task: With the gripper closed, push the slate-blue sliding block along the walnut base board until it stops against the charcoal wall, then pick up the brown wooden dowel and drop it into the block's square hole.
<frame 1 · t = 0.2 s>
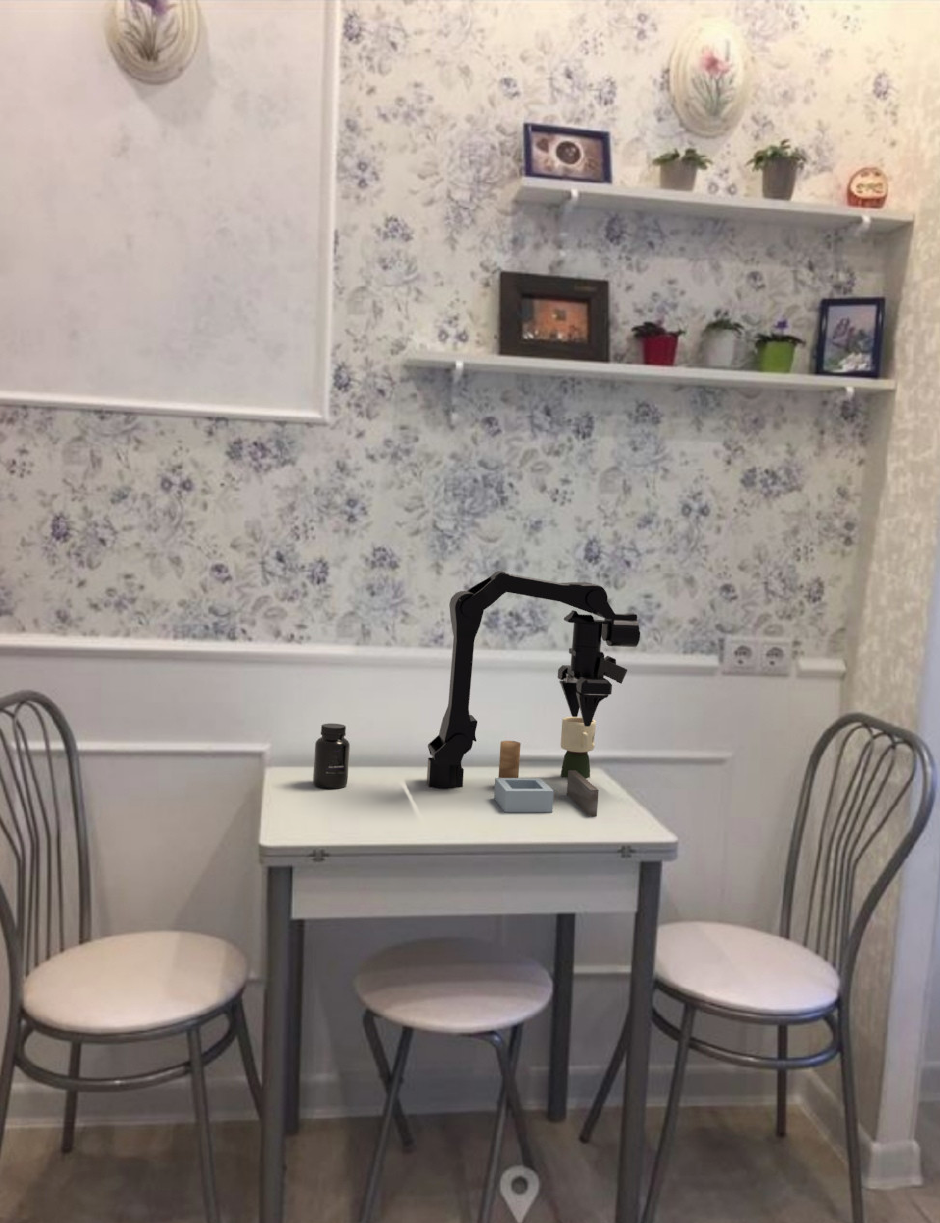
hand: (580, 721, 209), 14 cm above the table, tool pointing down, fingers open, 9 cm apart
supplement bottle: (330, 785, 204), on the table
character mug: (575, 780, 219), on the table
base board: (539, 810, 194), on the table
sliding block: (523, 794, 193), point 3 cm above the table, slide at 6.0 cm
dowel: (507, 791, 206), on the table
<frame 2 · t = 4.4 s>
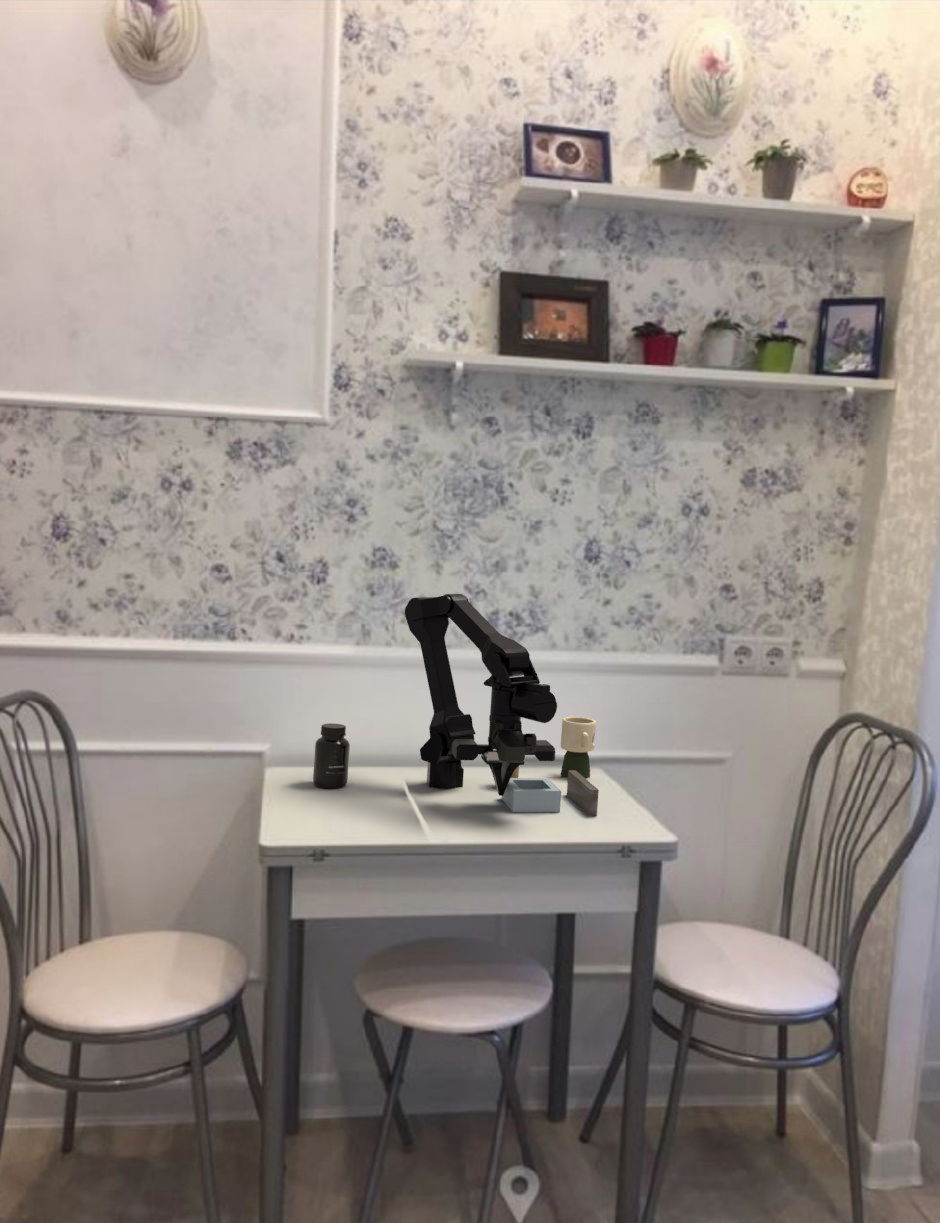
hand: (500, 795, 192), 3 cm above the table, tool pointing down, fingers closed
sliding block: (530, 794, 194), point 3 cm above the table, slide at 4.5 cm, touching gripper
everything else where it was.
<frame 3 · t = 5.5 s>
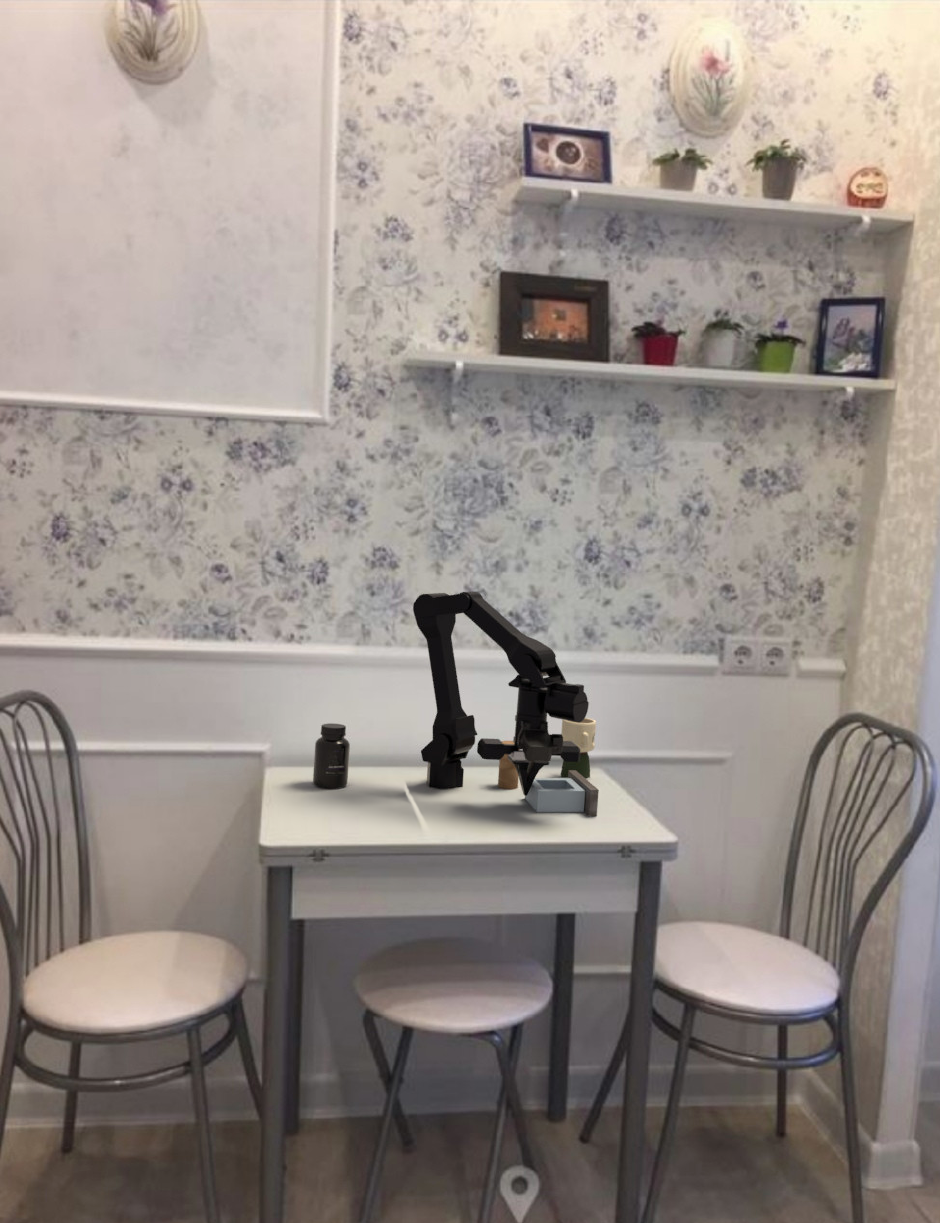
hand: (525, 795, 193), 3 cm above the table, tool pointing down, fingers closed
sliding block: (554, 794, 195), point 3 cm above the table, slide at -0.1 cm, touching gripper
everything else where it was.
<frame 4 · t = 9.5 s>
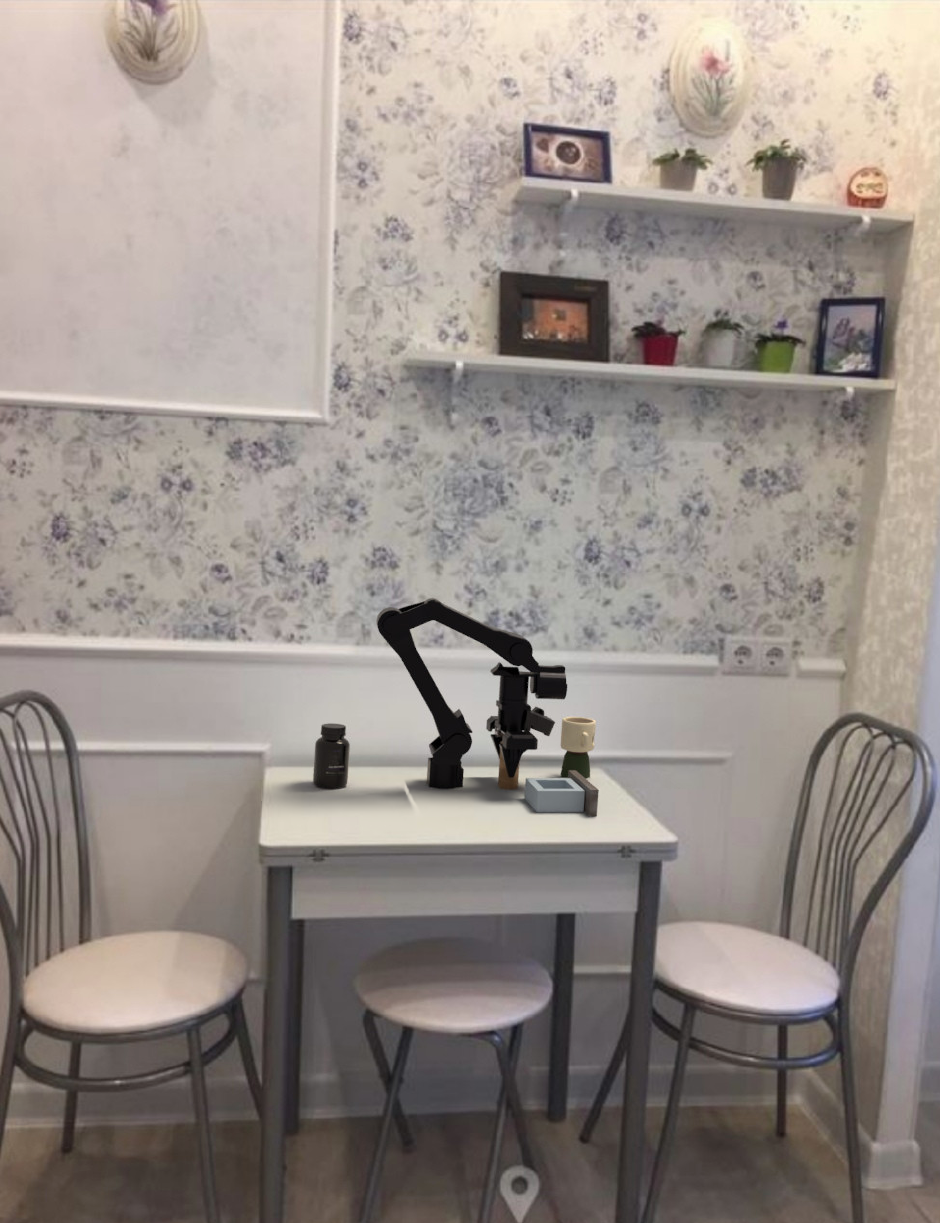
hand: (508, 774, 206), 4 cm above the table, tool pointing down, fingers closed on dowel, 4 cm apart
sliding block: (554, 794, 195), point 3 cm above the table, slide at 0.0 cm
dowel: (507, 791, 206), on the table, touching gripper
everything else where it was.
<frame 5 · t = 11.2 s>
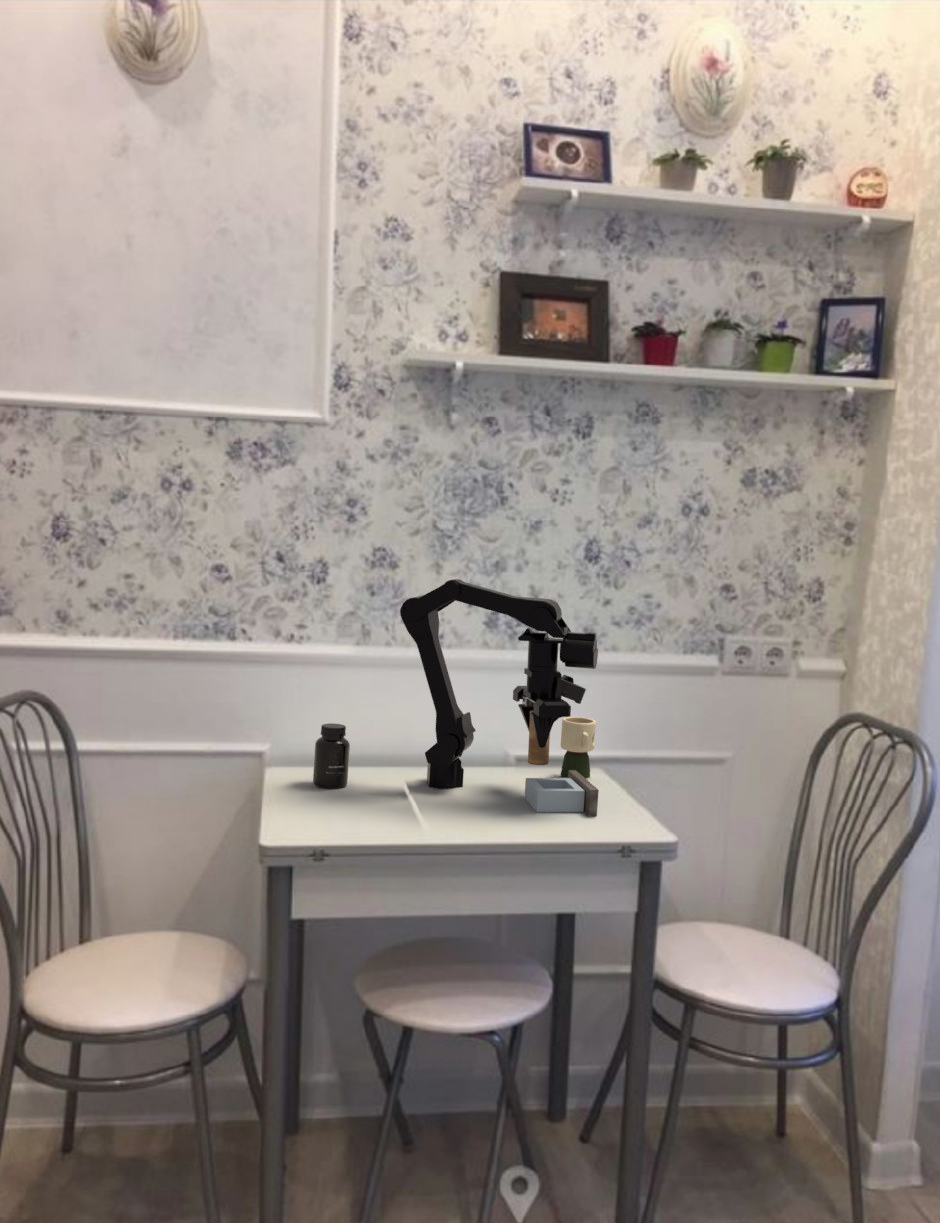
hand: (538, 744, 199), 11 cm above the table, tool pointing down, fingers closed on dowel, 4 cm apart
dowel: (538, 762, 199), point 8 cm above the table, touching gripper
everything else where it was.
when the fingers open (6 cm above the table, at t = 13.0 s): dowel drops 1 cm, resting on base board.
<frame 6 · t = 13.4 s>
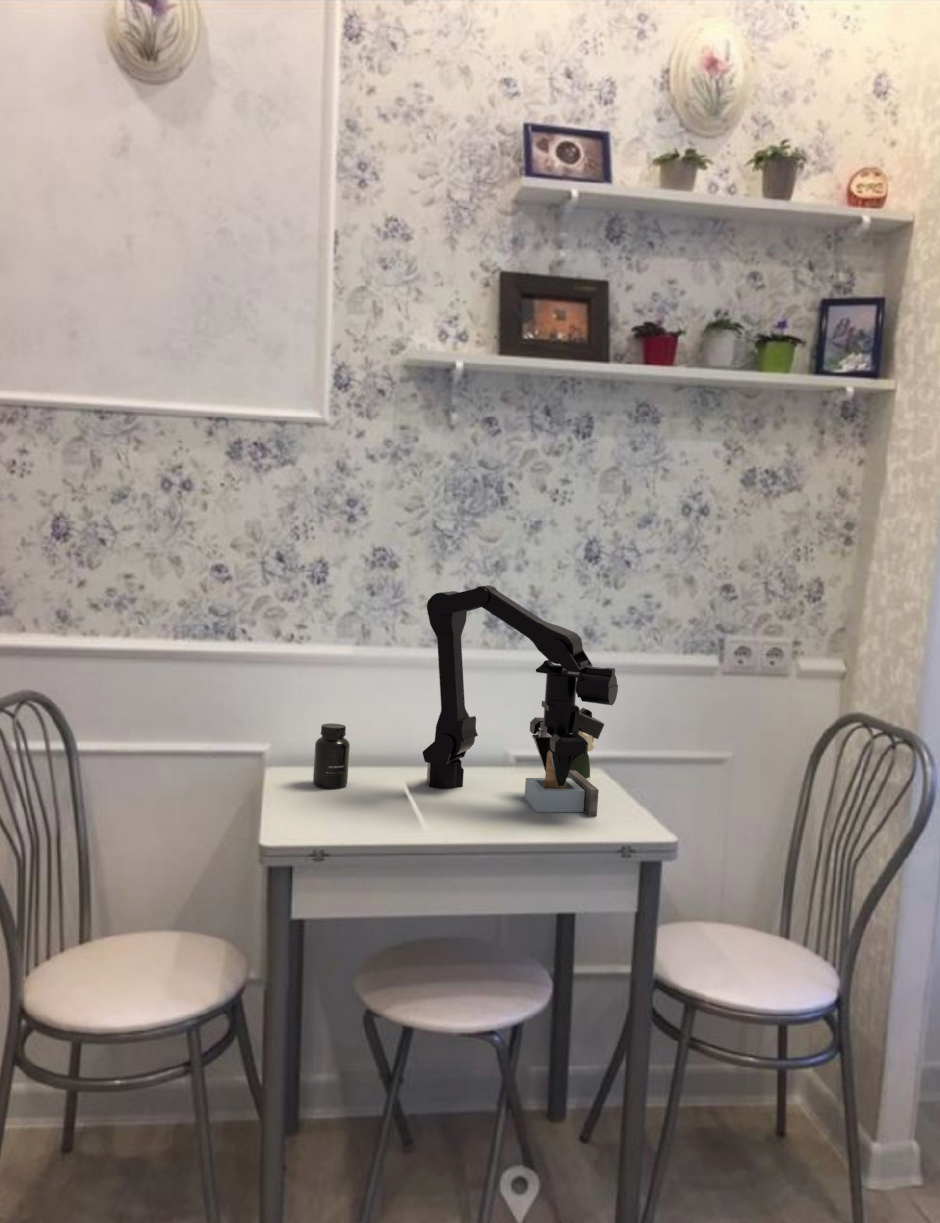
hand: (554, 779, 194), 6 cm above the table, tool pointing down, fingers open, 8 cm apart
dowel: (553, 805, 195), point 1 cm above the table, touching base board
everything else where it was.
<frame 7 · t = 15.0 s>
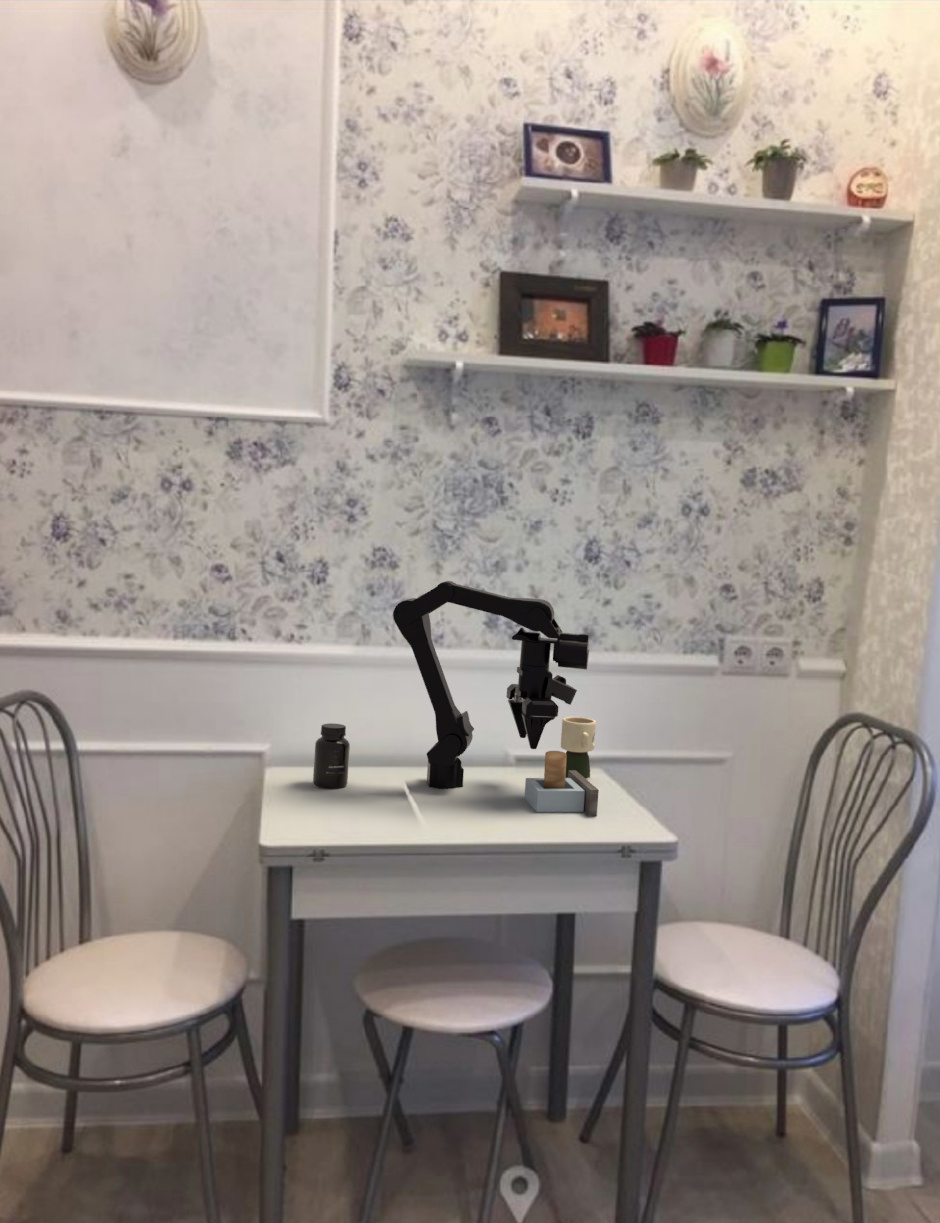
hand: (527, 743, 201), 11 cm above the table, tool pointing down, fingers open, 9 cm apart
nothing on the table moved.
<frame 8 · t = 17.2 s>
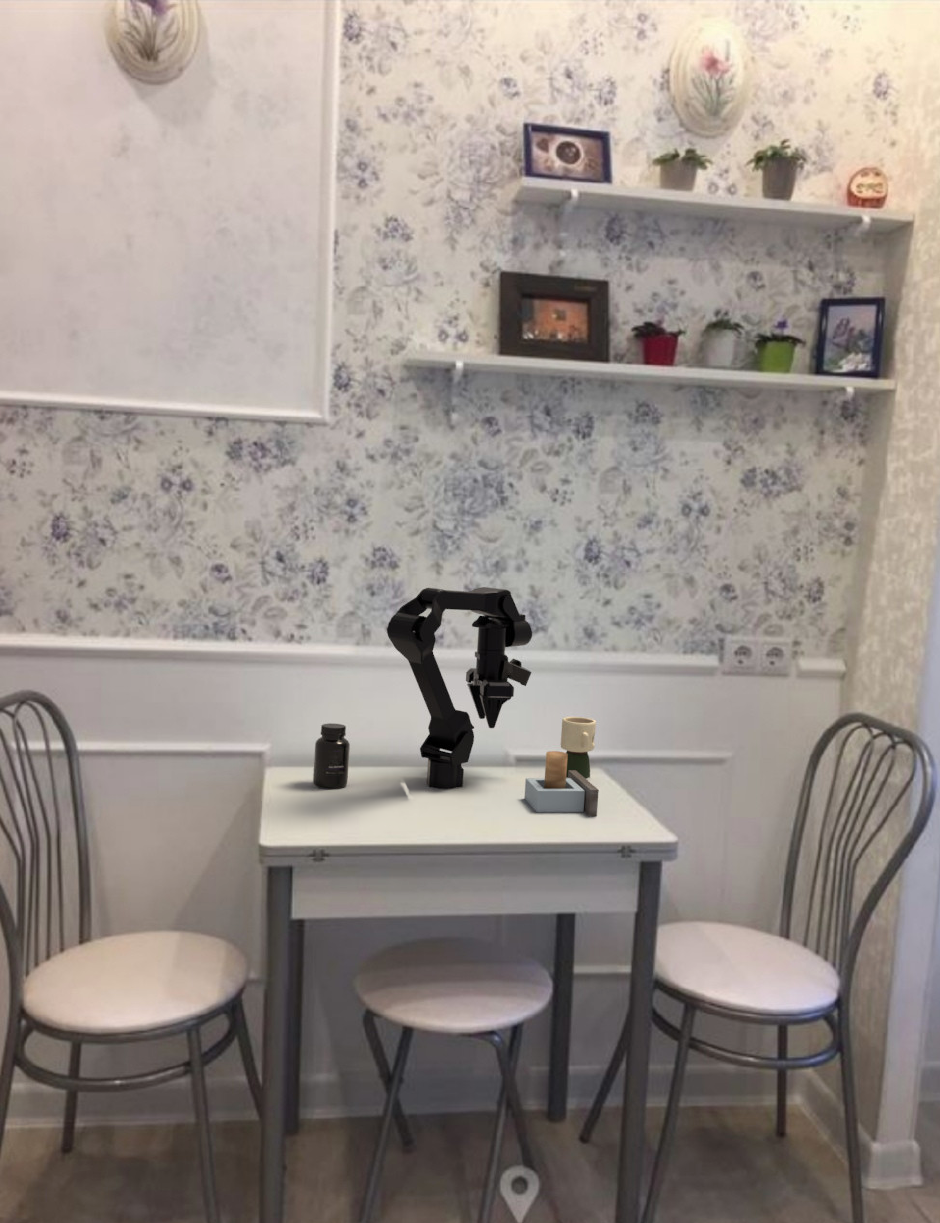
hand: (486, 723, 213), 12 cm above the table, tool pointing down, fingers open, 9 cm apart
nothing on the table moved.
at the end: sliding block slide at 0.0 cm; dowel 0.0 cm off-centre on the sliding block, point 0.0 cm above the sliding block's base; dowel tilted 1° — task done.
